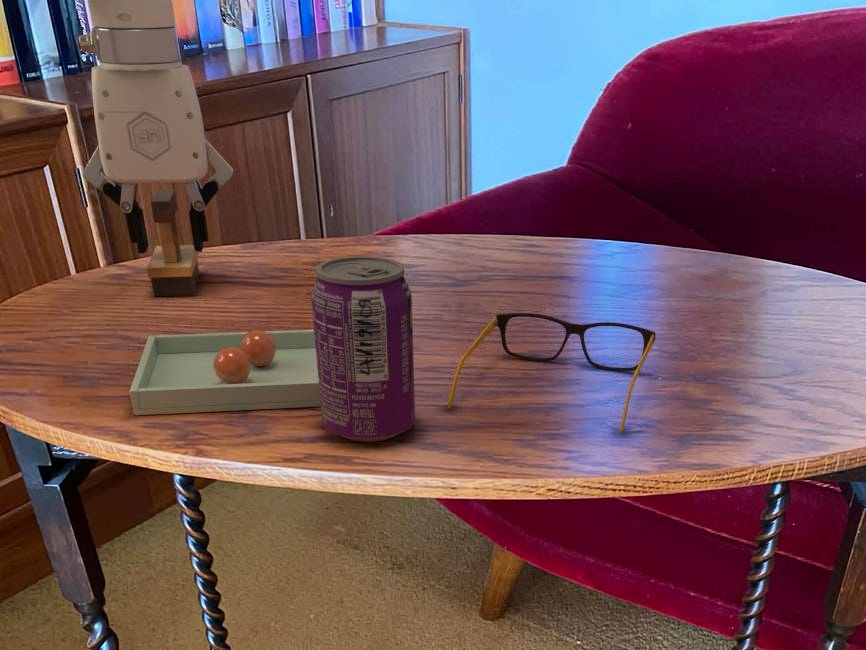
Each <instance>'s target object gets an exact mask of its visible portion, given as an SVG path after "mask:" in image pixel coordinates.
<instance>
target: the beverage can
mask: <svg viewBox="0 0 866 650" xmlns="http://www.w3.org/2000/svg"><path fill="white" fill-rule="evenodd" d="M315 275H316V276H317V278H316V280H315V283H314V287H313V289H312V291H311V299H310V300H311V309H312V320H313V330H314V334H315V345H316V357H317V368H318V380H319V391H320V403H321V406H320V412H321V423H322V425H323V427H324V428H325V430H327V431H328V432H331V433H333V434H334V435H337V436H340V437H342V438H344V439H347V440H351V441H353V442H362V443H364V442H365V443H372V442H373V443H374V442H381V441H386V440H389V439H392V438H394V437H396V436H398V435H399V434H402V433H403V432H405V431H408V430H409V429H410V428H411V427H412V426H413V425H414V424H415V422H416V402H415V397H416V396H415V395H416V393H415V363H414V360H415V359H414V329H413V327H414V326H413V296H412V295H413V294H412V291H411V288H410V286H409V284H408V283H407V280H406V279H405V276H404V275H405V266H404V264H403V263H401V262H400V261H398V260H395V259H392V258H388V257H382V256H373V255H371V256H370V255H354V256H353V255H352V256H343V257H336V258H335V257H334V258H331V259H328V260H324V261H322V262H320V263H318V264H317V265H316V266H315Z"/></svg>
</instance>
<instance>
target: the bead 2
mask: <svg viewBox="0 0 866 650" xmlns="http://www.w3.org/2000/svg"><path fill="white" fill-rule="evenodd" d="M248 332H249V333H247V334H246V335H245V336H244V337H243V339H242V341H241V345H240V350H242V351H243V352H245V353H246V355H247V356H248V358H249V360H250V363H251V365H253V366H256V367H262V366H266V365H268V364H269V363H271V362H272V360H273V359H274V357H275V354H276V345H275V342H274V340H273V339H272V337H271V336H270V335H269V334H267V333H266V332H264V331H263V330H258V329H256V330H250V331H248Z"/></svg>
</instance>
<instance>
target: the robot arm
mask: <svg viewBox="0 0 866 650" xmlns="http://www.w3.org/2000/svg"><path fill="white" fill-rule="evenodd" d="M87 3H88V9H89V15H90V20H91V24H92V25H91V26H92V28H91V31H89V33H86V34H79V35H78V43H79V47H80V50H81V52H83V53H85V52H88V53H90V54H94V56H95V57H96V60H97V61H98V63H99V65H95V66H92V67H91V92H92V94H91V95H92V105H93V113H94V121H95V129H96V137H97V143H98V145H97V147H96V148H95V150H94V152H93V154H92V155H91V157H90V159H89V160H88V163H87V164H86V166H85V168H84V170H83V171H82V177H83V179H84V180H85V181H87V182H88V183H89V184H91V185H92V186H93V187H95V188H96V189H98V190H100V191H101V192H102V193H103V194H104V195H105V196H106V197H107V198H109V199H110V201H112V202H113V203H115V204H116V205H117V207H119V208H120V210H121V211H122V212H123V213H124V214H125V218H126V219H125V220H126V224H127V229H128V234H129V235H128V236H129V239H130V240H129V241H130V244H136V247H137V252H138V254H146V253H147V251H148V249H149V246H150V245H149V239H148V234H147V233H148V232H147V228H146V222H145V216H144V211H143V208H141V206H140V205H139V201H137V196H138V186H139V184H177V183H178V184H180V183H181V184H182V185H183V187H184V189H185V192H186V193H187V196H188V198H189V201H190V208H189V212H188V216H189V222H190V229H191V237H192V243H193V245H194V249H195V251H197V252H198V253H203V250H204V247H205V246H204V242H209V231H208V224H207V223H208V222H207V217H206V209H205V208H206V206H208V204H209V203H210V202H211V200H213V198H214V197H215V196H216V194H217V193H218V191H219V190H221V188H223V187H224V186H225V185H226V184H227V183H228V182H229V181H230V179H231V178H233V176H234V169H233V167H232V166H231V165H230V164H229V163H228V162H227V161H226V160H225V158H224V157H223V156H222V155H221V154H220V152H218V150H217V149H216V148H215V147H214V146H213V145H212V144H211V143H210V142H209V140H208V139H207V136H206V131H205V126H204V121H203V115H202V111H201V106H200V101H199V98H198V94H197V89H196V86H195V82H194V79H193V76H192V73H191V70H190V67H189V65H186V64H182V60H181V58H182V57H181V53H180V45H179V38H178V32H177V31H178V30H177V25H176V19H175V18H176V17H175V12H174V4H173V0H87ZM209 165H210V166H211V167H213V169H214V171H215V173H214V174H213V175H212V177H210V178H209V179H208V180H207V181H206V183H205V184H204V185H203V186H202V185H201V183H200V181H201V180H202V179H204V178H205V177H206V175H207V173H208V170H209ZM117 183H120V184H121V186H119V184H117Z"/></svg>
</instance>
